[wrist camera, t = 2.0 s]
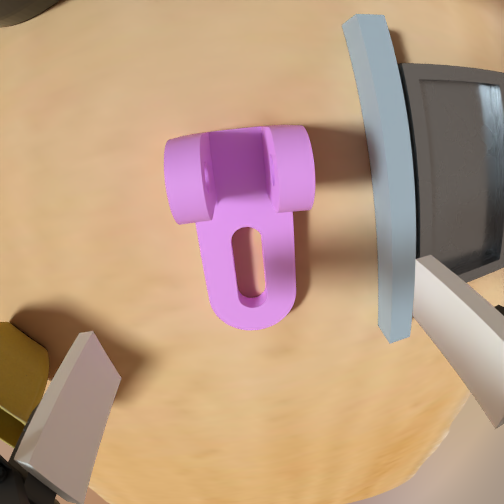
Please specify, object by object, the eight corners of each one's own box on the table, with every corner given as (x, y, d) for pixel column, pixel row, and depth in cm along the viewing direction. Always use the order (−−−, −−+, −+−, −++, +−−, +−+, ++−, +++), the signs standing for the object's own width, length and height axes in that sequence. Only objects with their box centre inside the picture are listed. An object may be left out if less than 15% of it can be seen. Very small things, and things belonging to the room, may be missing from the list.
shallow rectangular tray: (386, 67, 15) (402, 63, 13) (487, 73, 15) (504, 72, 13) (405, 287, 22) (417, 300, 20) (491, 257, 21) (504, 266, 19)
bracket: (186, 135, 17) (159, 142, 10) (282, 124, 17) (312, 125, 10) (216, 322, 22) (213, 395, 16) (293, 313, 22) (313, 383, 16)
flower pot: (54, 393, 25) (26, 457, 17) (-9, 349, 22) (-46, 404, 14) (70, 349, 22) (30, 426, 14) (-4, 295, 20) (-59, 356, 12)
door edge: (341, 25, 14) (355, 14, 12) (367, 25, 14) (384, 15, 12) (378, 325, 23) (389, 343, 21) (397, 319, 23) (409, 336, 21)
